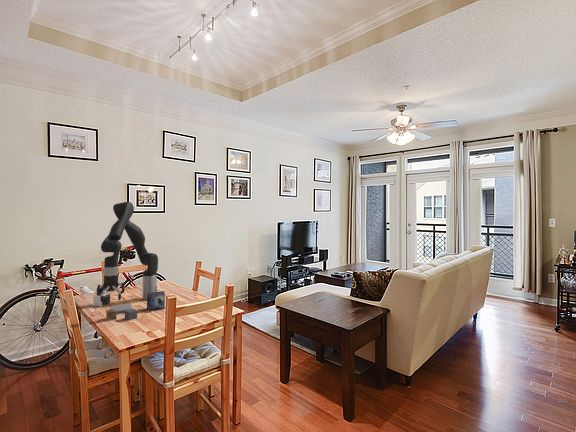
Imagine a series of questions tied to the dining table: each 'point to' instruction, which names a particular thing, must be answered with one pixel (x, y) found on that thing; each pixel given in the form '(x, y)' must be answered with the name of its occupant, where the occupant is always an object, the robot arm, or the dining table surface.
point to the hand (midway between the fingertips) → (110, 301)
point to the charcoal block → (130, 314)
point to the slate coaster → (121, 308)
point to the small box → (155, 300)
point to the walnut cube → (111, 314)
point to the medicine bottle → (105, 299)
